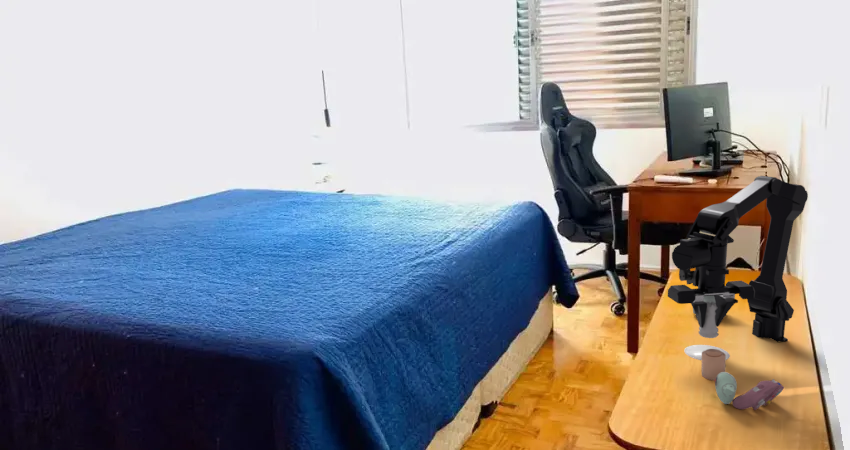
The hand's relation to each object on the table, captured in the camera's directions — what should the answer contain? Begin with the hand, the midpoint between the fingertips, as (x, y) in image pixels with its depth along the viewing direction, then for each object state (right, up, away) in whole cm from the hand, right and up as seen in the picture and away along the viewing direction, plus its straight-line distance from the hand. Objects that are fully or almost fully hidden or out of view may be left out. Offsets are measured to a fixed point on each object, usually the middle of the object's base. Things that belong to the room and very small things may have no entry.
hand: (708, 326), depth 159 cm
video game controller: (+1, -13, -22) cm, 26 cm away
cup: (-3, -10, -11) cm, 15 cm away
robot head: (-6, -13, -21) cm, 25 cm away
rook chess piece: (0, -2, 0) cm, 2 cm away
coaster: (0, -7, +2) cm, 8 cm away
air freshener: (+12, -2, +28) cm, 31 cm away
